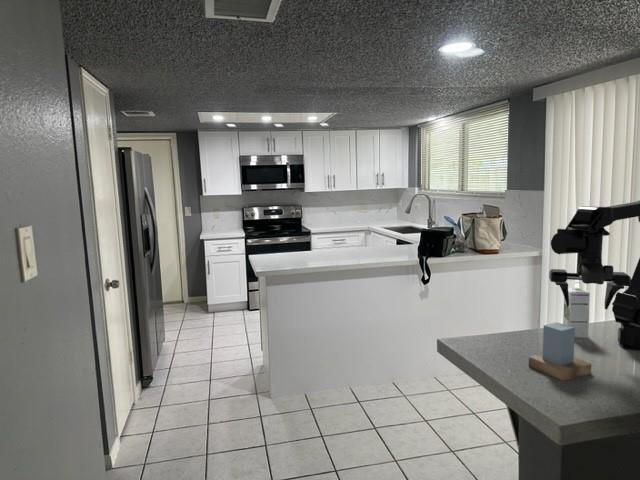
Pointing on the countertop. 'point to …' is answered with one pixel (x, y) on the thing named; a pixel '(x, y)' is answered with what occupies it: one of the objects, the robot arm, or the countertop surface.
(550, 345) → the slate block
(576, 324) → the syrup box
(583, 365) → the walnut block
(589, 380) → the countertop surface
